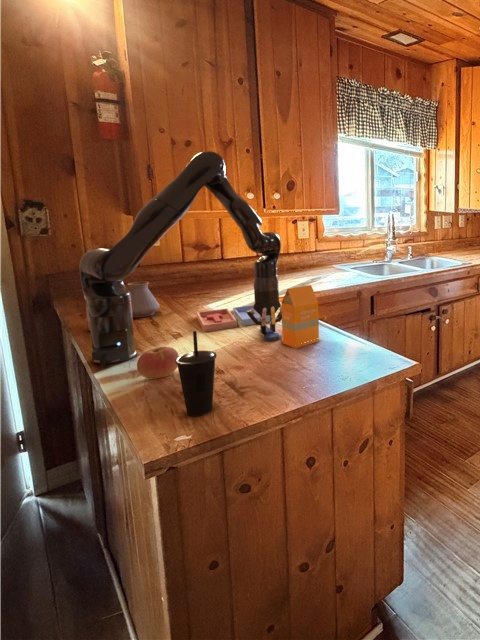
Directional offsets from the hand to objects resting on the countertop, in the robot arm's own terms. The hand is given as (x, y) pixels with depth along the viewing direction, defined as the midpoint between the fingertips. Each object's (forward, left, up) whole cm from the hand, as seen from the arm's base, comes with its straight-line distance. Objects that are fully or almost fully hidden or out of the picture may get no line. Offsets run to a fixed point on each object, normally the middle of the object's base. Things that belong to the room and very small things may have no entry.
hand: (268, 334), depth 148 cm
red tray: (+25, +12, 0) cm, 28 cm away
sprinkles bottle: (+38, +45, 0) cm, 59 cm away
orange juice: (-14, -7, 0) cm, 16 cm away
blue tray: (+25, 0, 0) cm, 25 cm away
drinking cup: (-47, +25, 0) cm, 53 cm away
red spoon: (+25, +12, 0) cm, 28 cm away
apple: (-19, +31, 0) cm, 36 cm away
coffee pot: (+51, +38, 0) cm, 64 cm away
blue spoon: (0, 0, 0) cm, 0 cm away
